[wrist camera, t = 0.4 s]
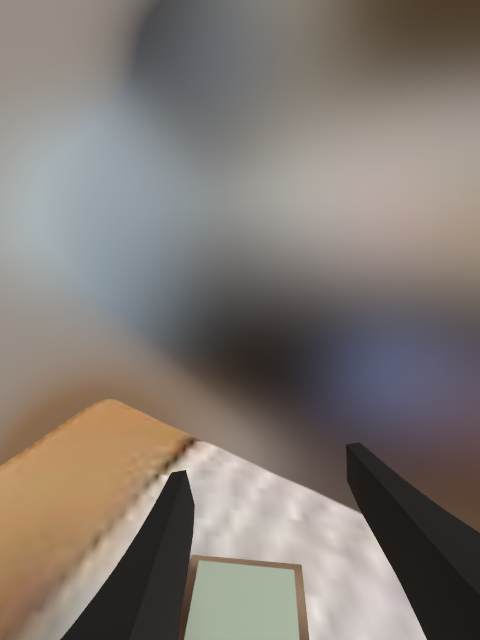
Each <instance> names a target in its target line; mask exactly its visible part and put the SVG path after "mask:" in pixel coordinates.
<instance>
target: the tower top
mask: <svg viewBox="0 0 480 640" xmlns="http://www.w3.org/2000/svg"><path fill="white" fill-rule="evenodd" d="M184 640H300V639H299V626H298V613H297V601H296V588H295V575H294V570H290V569H280V568H270V567H261V566H251V565H241V564H231V563H221V562H211V561H201V560H199V563H198V568H197V573H196V579H195V584H194V589H193V595H192V600H191V605H190V611H189V616H188V621H187V627H186V632H185V637H184Z"/></svg>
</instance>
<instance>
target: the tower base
mask: <svg viewBox="0 0 480 640" xmlns="http://www.w3.org/2000/svg"><path fill="white" fill-rule="evenodd" d="M199 560H201V561H211V562H221V563H231V564H241V565H251V566H261V567H270V568H280V569H290V570H294V575H295V588H296V601H297V613H298V626H299V639H300V640H309V632H308V623H307V613H306V604H305V594H304V585H303V575H302V566H301V565H298V564H287V563H276V562H264V561H253V560H242V559H231V558H220V557H209V556H198V555H192V558H191V563H190V568H189V573H188V577H187V582H186V587H185V592H184V597H183V604H182V611H181V619H180V628H179V640H184V637H185V632H186V627H187V621H188V616H189V611H190V605H191V600H192V595H193V589H194V584H195V579H196V573H197V568H198V563H199Z"/></svg>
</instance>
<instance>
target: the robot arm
mask: <svg viewBox="0 0 480 640" xmlns="http://www.w3.org/2000/svg"><path fill="white" fill-rule="evenodd" d="M346 451H347V481H348V484H349V486H350V488H351V491H352V493H353V495H354V498H355V500H356V502H357V504H358V507H359V508H360V510H361V512H362V514H363V516H364V518H365V519H366V521H367V523H368V525H369V527H370V528H371V530H372V532H373V534H374V536H375V537H376V539H377V541H378V543H379V545H380V546H381V548H382V550H383V552H384V554H385V555H386V557H387V559H388V561H389V563H390V564H391V566H392V568H393V570H394V572H395V574H396V575H397V577H398V579H399V581H400V583H401V585H402V587H403V589H404V591H405V593H406V595H407V598H408V600H409V602H410V604H411V606H412V608H413V610H414V612H415V615H416V617H417V619H418V621H419V623H420V625H421V627H422V630H423V632H424V634H425V636H426V638H427V640H480V533H479V532H477V531H476V530H474V529H473V528H471V527H470V526H468V525H467V524H465V523H463V522H462V521H461V520H459V519H458V518H456V517H455V516H453V515H451V514H450V513H449V512H447V511H446V510H444V509H443V508H442V507H440V506H439V505H437V504H436V503H435V502H433V501H432V500H430V499H429V498H428V497H426V496H425V495H423V494H422V493H421V492H420V491H418V490H417V489H416V488H414V487H413V486H412V485H410V484H409V483H408V482H407V481H405V480H404V479H403V478H402V477H400V476H399V475H398V474H397V473H396V472H394V471H393V470H392V469H391V468H389V467H388V466H387V465H386V464H385V463H383V462H382V461H381V460H380V459H379V458H378V457H376V456H375V455H374V454H373V453H372V452H370V451H369V450H368V449H367V448H365V446H363V445H362V444H361V443H354V444H348V445H346ZM194 507H195V505H194V501H193V497H192V493H191V489H190V485H189V481H188V477H187V473H186V470H184V471H178V472H172V473H171V475H170V476H169V478H168V480H167V482H166V484H165V486H164V488H163V490H162V492H161V493H160V495H159V497H158V499H157V501H156V503H155V504H154V506H153V508H152V510H151V511H150V513H149V515H148V517H147V518H146V520H145V522H144V524H143V525H142V527H141V529H140V530H139V532H138V534H137V535H136V537H135V538H134V540H133V541H132V543H131V545H130V546H129V548H128V549H127V551H126V553H125V554H124V556H123V557H122V559H121V560H120V562H119V563H118V565H117V566H116V567H115V569H114V570H113V572H112V573H111V575H110V576H109V577H108V579H107V580H106V582H105V583H104V584H103V586H102V587H101V589H100V590H99V591H98V593H97V594H96V595H95V597H94V598H93V599H92V600H91V602H90V603H89V604H88V606H87V607H86V608H85V610H84V611H83V612H82V614H81V615H80V616H79V617H78V619H77V620H76V621H75V623H74V624H73V625H72V626H71V627H70V629H69V630H68V631H67V632H66V634H65V635H64V636H63V637H62V638H61V639H60V640H179V628H180V619H181V611H182V604H183V597H184V590H185V584H186V577H187V571H188V564H189V558H190V551H191V544H192V537H193V526H194Z"/></svg>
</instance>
